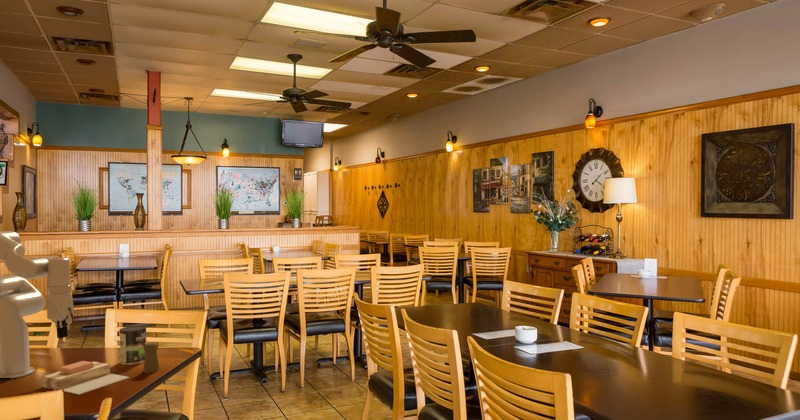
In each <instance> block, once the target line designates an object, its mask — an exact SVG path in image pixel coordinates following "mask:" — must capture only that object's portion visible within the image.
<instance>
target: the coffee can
mask: <svg viewBox="0 0 800 420" xmlns="http://www.w3.org/2000/svg"><path fill="white" fill-rule="evenodd" d="M118 330H119V331H118V332H119V350H120V351H119V352H120V354H119V356H120V365H124V366H131V365H132V366H133V365H138V364H144V360H145V351H144V345H145V344H147V326H146V325H131V326H125V327H122V328H119V329H118Z"/></svg>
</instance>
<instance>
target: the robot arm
mask: <svg viewBox="0 0 800 420" xmlns="http://www.w3.org/2000/svg"><path fill="white" fill-rule="evenodd" d="M25 254H26V249H25V246H24V244H22V238H21V236H20V235H19V234H18V233H17V232H15V231H13V230H1V231H0V260H1V261H3V262H4V264H5V267H6V269H7V270H8V271H9V272H10V273H11V275H0V378H10V379H15V378H21V377H25V376H28V375H31V374H33V373H34V372H35V367H33V366H30V363H31V362H30V361H31V360H30V338H29V336H30V335H29V334H30V333H29V326H28V323H27V322H26V321H25V320H24V318H23V317H27V316H32V315H35V314H38V313H40V312H41V311H42V310H44V308H45V306H46V317H47V319H48V320H51V322H53V323H55V329H56V337H57V339H64V338H67V337H68V335H69V333H68V332H69V331H68V327H69V324H70V323H72V322H73V320H72V319H74V315H75V308H74V301H73V300H74V299H73V294H72V293H73V292H72V274H71V260H70V258H69V257H53V256H45V257H35V258H25V257H24V256H25ZM45 277H46V278H47V285H48V288H47V289H48V294H47V295H48V296H47V300H45V297H44V295H43V294H42V293H41V292H40V291H39V290H38V289H37V288H36V287H35V286H33V284H32V283H30V282H29V281H28V280H32V279H37V278H45ZM46 302H47V303H46Z"/></svg>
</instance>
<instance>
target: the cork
mask: <svg viewBox="0 0 800 420" xmlns="http://www.w3.org/2000/svg"><path fill="white" fill-rule="evenodd" d="M158 349H159V345H158V343H157V342H146V344H145V345H144V351H145V360H144V362H143V368H142V369H143V370H142V372H143V373H145V374H152V373H151V372H153V373H156V372H155V371H157V372H159V371H160V364H159V363H160V362H159V357H158ZM158 370H159V371H158Z"/></svg>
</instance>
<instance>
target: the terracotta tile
mask: <svg viewBox="0 0 800 420" xmlns="http://www.w3.org/2000/svg"><path fill="white" fill-rule="evenodd" d="M59 368H60V369H59V370H60V373H65V374H74V373H77V372H81V371H84V370H87V369H91V368H93V361H87V360H81V361H77V362H74V363H70V364H67V365H63V366H60V367H59Z"/></svg>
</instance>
